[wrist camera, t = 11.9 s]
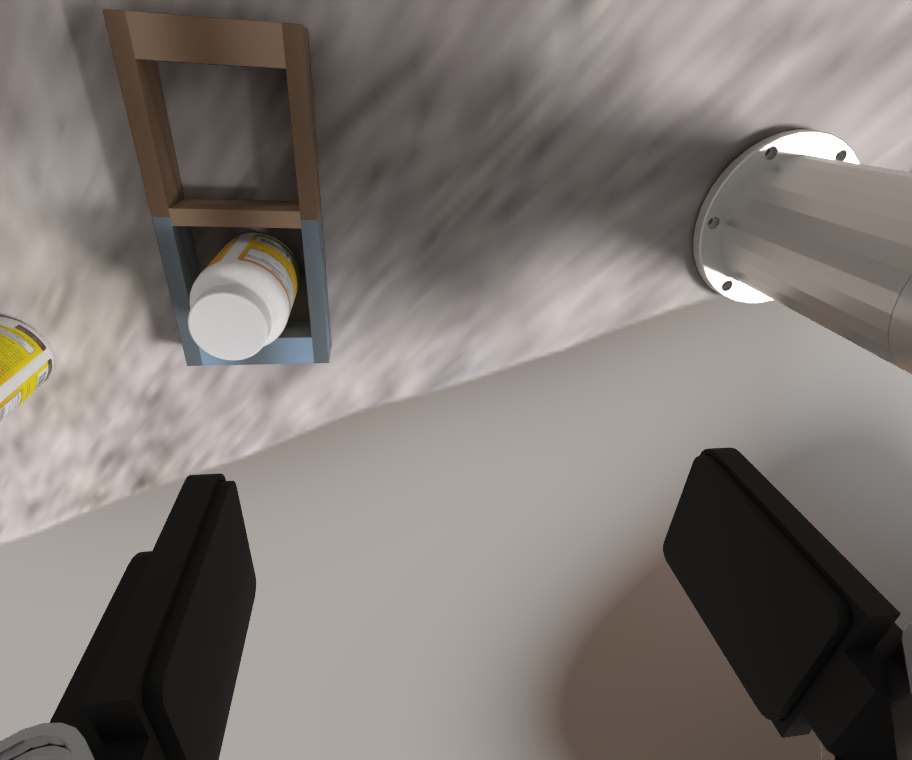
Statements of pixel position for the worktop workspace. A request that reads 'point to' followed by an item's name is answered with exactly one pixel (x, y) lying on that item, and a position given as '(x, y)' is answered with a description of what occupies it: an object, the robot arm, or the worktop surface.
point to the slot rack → (236, 45)
